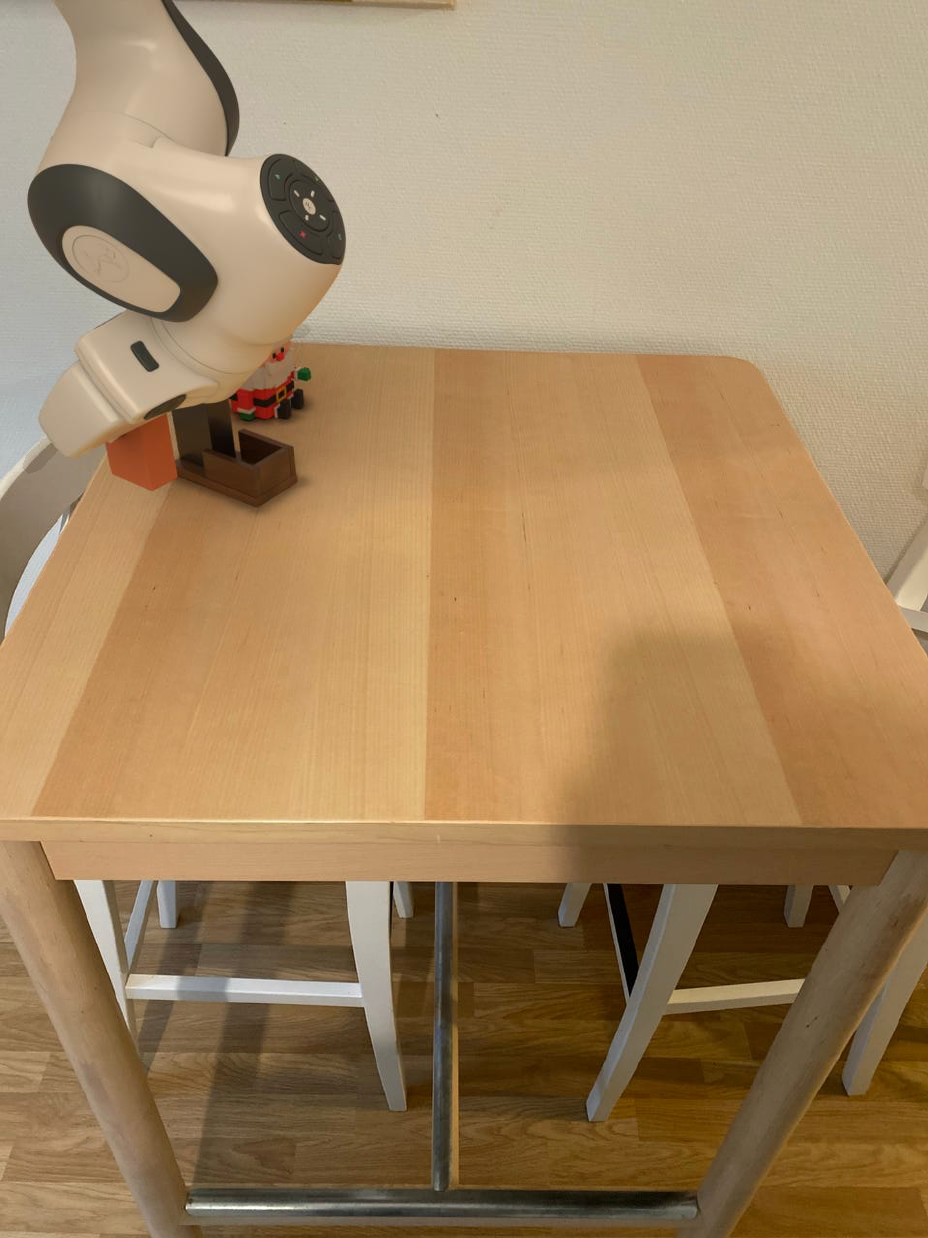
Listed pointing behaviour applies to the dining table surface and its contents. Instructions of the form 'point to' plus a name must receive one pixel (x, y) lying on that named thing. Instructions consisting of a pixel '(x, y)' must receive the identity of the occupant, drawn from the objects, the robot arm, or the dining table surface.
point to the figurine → (272, 386)
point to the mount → (230, 455)
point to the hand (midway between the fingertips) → (129, 423)
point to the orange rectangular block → (144, 455)
